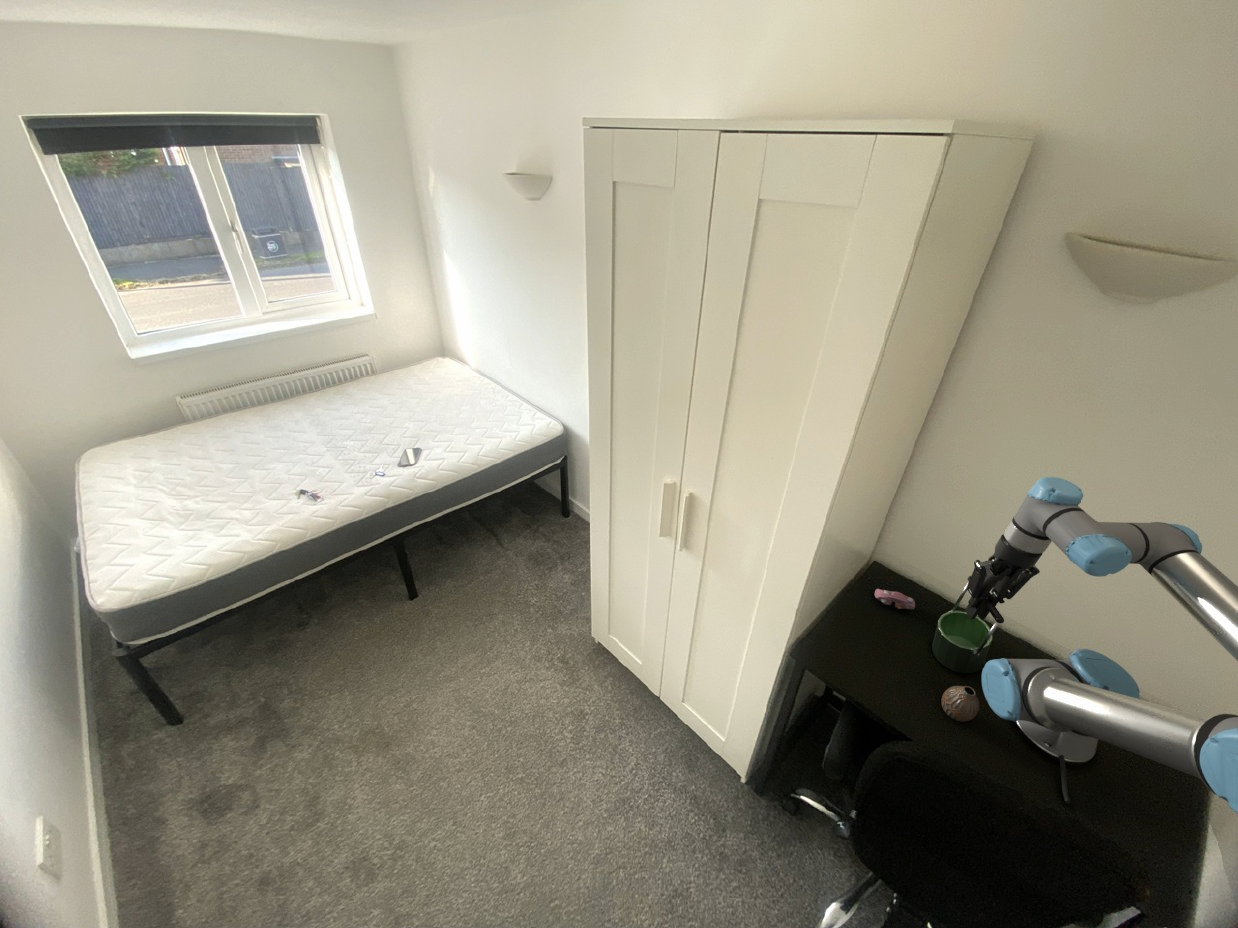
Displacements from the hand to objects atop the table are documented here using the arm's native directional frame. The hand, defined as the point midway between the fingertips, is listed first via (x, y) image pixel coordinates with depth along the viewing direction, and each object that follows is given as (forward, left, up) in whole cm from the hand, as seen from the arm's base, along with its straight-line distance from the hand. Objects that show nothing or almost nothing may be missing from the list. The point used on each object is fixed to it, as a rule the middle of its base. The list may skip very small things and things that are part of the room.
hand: (974, 614), depth 120 cm
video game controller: (+16, +7, -17) cm, 24 cm away
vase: (-15, +5, -17) cm, 23 cm away
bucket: (0, -2, -15) cm, 16 cm away
